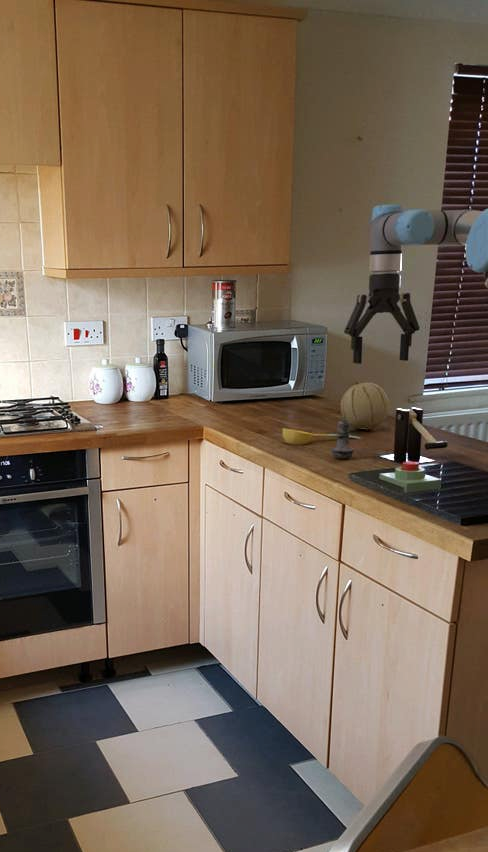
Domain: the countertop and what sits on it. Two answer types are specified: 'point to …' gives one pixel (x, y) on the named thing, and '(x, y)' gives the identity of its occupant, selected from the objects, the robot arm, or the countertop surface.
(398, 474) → the control block
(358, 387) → the cantaloupe
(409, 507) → the countertop surface
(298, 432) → the ladle
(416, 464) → the button
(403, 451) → the bracket
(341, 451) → the grey chess piece
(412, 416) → the lever
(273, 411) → the countertop surface
